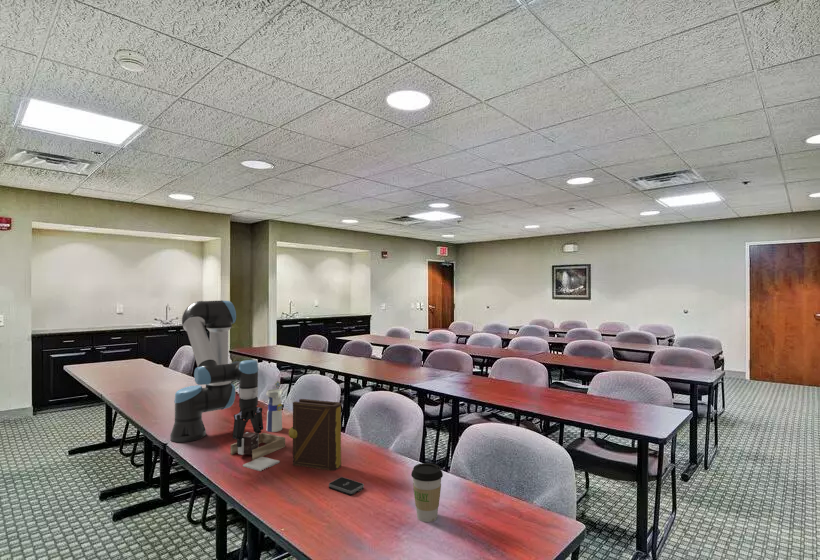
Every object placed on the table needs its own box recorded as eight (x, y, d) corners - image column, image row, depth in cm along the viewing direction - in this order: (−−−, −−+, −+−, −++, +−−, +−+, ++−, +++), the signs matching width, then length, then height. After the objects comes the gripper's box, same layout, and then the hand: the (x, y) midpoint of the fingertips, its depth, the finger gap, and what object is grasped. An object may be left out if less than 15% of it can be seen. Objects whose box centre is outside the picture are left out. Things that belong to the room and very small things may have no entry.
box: (250, 454, 187) (250, 437, 187) (237, 453, 188) (237, 436, 188) (258, 449, 193) (258, 432, 193) (245, 448, 194) (245, 431, 194)
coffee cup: (410, 509, 143) (409, 462, 143) (440, 508, 144) (440, 461, 144) (412, 526, 133) (412, 475, 133) (445, 524, 134) (445, 474, 134)
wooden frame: (230, 454, 190) (230, 444, 191) (262, 441, 206) (262, 432, 206) (253, 460, 184) (253, 450, 184) (285, 446, 200) (285, 437, 200)
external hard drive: (351, 497, 152) (351, 491, 152) (327, 489, 158) (327, 483, 158) (364, 489, 158) (364, 484, 158) (341, 482, 164) (341, 476, 164)
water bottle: (287, 427, 226) (287, 378, 226) (275, 433, 218) (275, 381, 218) (274, 425, 229) (274, 377, 230) (262, 430, 222) (262, 380, 222)
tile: (242, 466, 178) (242, 464, 178) (262, 457, 186) (262, 456, 186) (260, 471, 173) (260, 469, 173) (279, 462, 182) (279, 460, 182)
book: (343, 464, 180) (344, 402, 180) (333, 472, 172) (333, 407, 172) (296, 457, 187) (297, 397, 187) (284, 465, 179) (285, 402, 179)
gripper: (235, 403, 180) (235, 460, 180) (272, 393, 198) (272, 445, 197) (222, 401, 183) (222, 457, 183) (260, 391, 201) (259, 442, 201)
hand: (248, 450), depth 190 cm, fingers closed on box, 7 cm apart
